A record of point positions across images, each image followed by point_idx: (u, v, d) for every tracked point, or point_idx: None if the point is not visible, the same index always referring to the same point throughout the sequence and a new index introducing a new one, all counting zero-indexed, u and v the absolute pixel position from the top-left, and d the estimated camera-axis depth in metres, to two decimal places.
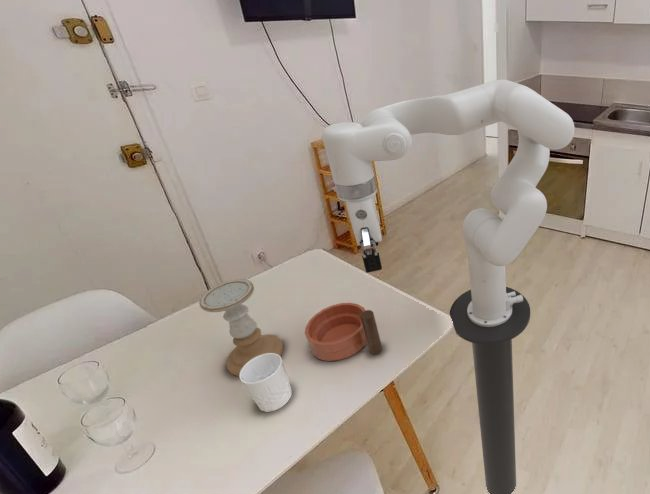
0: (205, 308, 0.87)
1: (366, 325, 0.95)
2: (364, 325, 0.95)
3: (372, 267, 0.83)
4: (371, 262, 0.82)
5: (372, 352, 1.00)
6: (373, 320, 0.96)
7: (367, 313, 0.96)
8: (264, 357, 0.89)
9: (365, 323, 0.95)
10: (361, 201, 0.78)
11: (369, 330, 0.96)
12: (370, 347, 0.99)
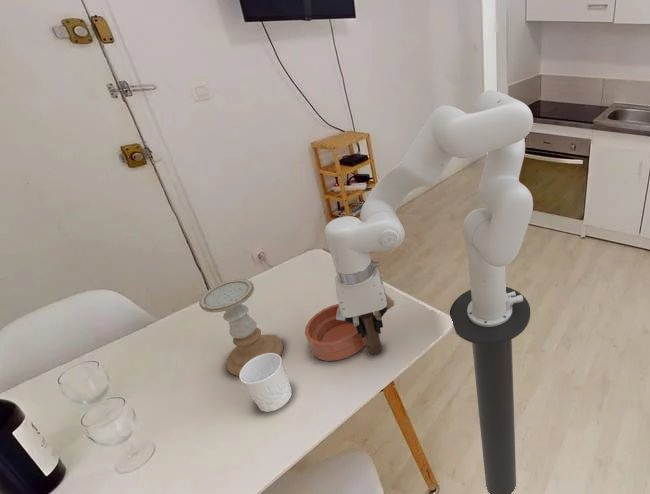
0: (205, 308, 0.87)
1: (366, 325, 0.95)
2: (364, 325, 0.95)
3: (382, 324, 0.98)
4: (381, 320, 0.98)
5: (372, 352, 1.00)
6: (373, 320, 0.96)
7: (367, 313, 0.96)
8: (264, 357, 0.89)
9: (365, 323, 0.95)
10: (375, 270, 0.92)
11: (369, 330, 0.96)
12: (370, 347, 0.99)
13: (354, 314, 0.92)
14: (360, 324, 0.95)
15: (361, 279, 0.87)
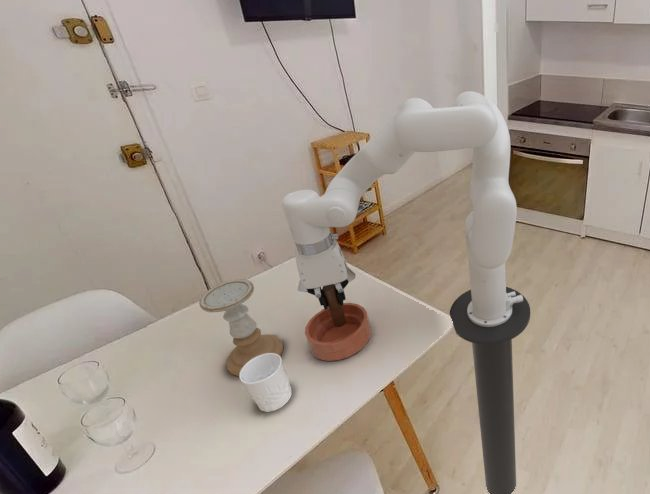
0: (205, 308, 0.87)
1: (328, 297, 0.99)
2: (326, 297, 0.99)
3: (344, 297, 1.02)
4: (343, 293, 1.01)
5: (336, 324, 1.03)
6: (335, 292, 1.00)
7: (329, 285, 0.99)
8: (264, 357, 0.89)
9: (326, 295, 0.99)
10: (335, 242, 0.95)
11: (331, 301, 1.00)
12: (333, 319, 1.03)
13: (315, 285, 0.96)
14: (322, 296, 0.99)
15: (319, 250, 0.90)
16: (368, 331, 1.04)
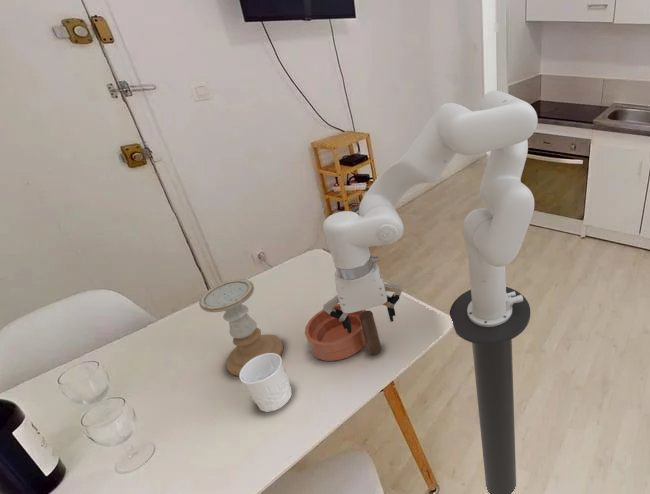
0: (205, 308, 0.87)
1: (365, 325, 0.95)
2: (363, 325, 0.95)
3: (394, 312, 0.98)
4: (393, 308, 0.97)
5: (371, 352, 1.00)
6: (372, 320, 0.96)
7: (366, 313, 0.96)
8: (264, 357, 0.89)
9: (364, 323, 0.95)
10: (375, 265, 0.91)
11: (368, 330, 0.96)
12: (369, 347, 0.99)
13: (354, 310, 0.91)
14: (346, 319, 0.93)
15: (360, 274, 0.86)
16: None
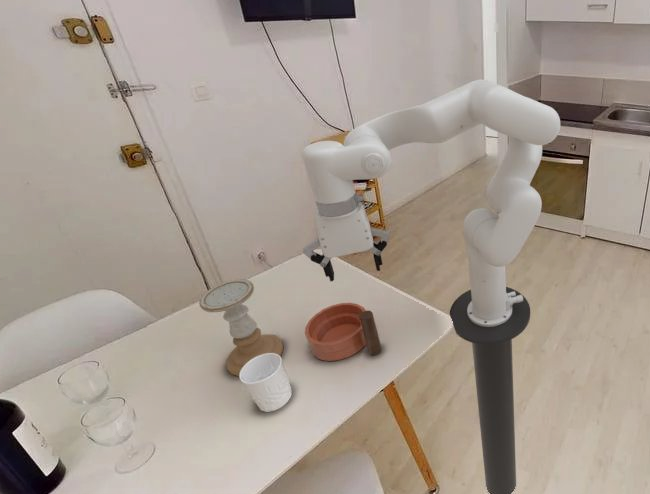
0: (205, 308, 0.87)
1: (365, 325, 0.95)
2: (363, 325, 0.95)
3: (381, 261, 0.90)
4: (380, 256, 0.90)
5: (371, 352, 1.00)
6: (372, 320, 0.96)
7: (366, 313, 0.96)
8: (264, 357, 0.89)
9: (364, 323, 0.95)
10: (360, 205, 0.83)
11: (368, 330, 0.96)
12: (369, 347, 0.99)
13: (337, 254, 0.84)
14: (328, 265, 0.85)
15: (343, 211, 0.79)
16: None
